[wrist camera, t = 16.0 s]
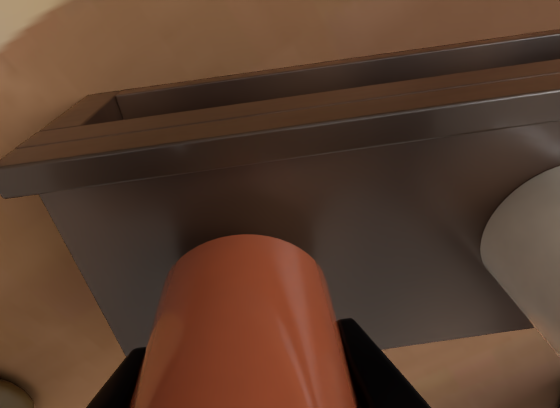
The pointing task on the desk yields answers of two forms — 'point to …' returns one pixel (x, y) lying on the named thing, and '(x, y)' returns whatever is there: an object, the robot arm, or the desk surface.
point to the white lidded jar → (529, 251)
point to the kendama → (13, 396)
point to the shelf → (309, 179)
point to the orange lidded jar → (245, 332)
